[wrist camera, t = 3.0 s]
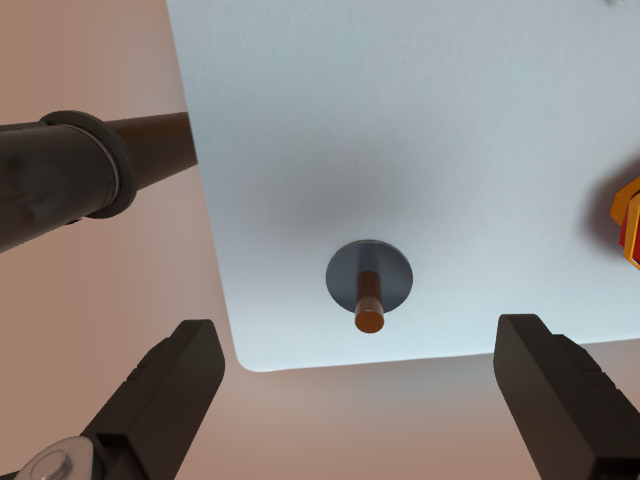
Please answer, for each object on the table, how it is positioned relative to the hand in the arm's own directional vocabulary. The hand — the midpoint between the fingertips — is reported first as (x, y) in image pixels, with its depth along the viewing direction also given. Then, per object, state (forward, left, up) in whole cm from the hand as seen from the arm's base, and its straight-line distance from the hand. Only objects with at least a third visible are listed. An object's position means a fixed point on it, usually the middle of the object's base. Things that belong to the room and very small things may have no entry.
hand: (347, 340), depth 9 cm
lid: (+8, -10, -24) cm, 27 cm away
